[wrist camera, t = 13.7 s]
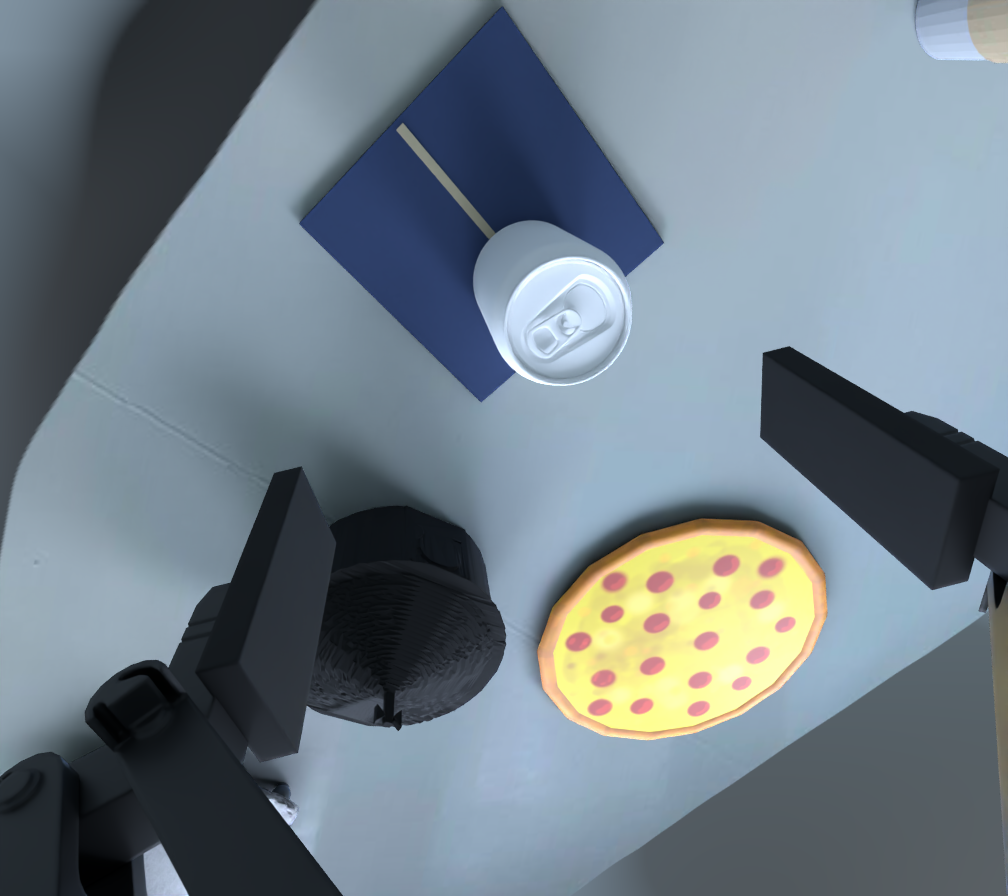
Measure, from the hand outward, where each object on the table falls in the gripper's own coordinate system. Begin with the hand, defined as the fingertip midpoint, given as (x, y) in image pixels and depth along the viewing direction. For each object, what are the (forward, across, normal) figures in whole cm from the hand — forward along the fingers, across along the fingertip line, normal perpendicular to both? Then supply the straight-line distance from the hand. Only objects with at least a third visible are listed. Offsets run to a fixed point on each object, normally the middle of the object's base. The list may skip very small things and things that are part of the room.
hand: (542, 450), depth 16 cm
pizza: (+28, +14, -44) cm, 54 cm away
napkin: (+28, +2, +1) cm, 28 cm away
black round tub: (+28, -13, -27) cm, 41 cm away
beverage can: (+28, +4, -2) cm, 28 cm away
